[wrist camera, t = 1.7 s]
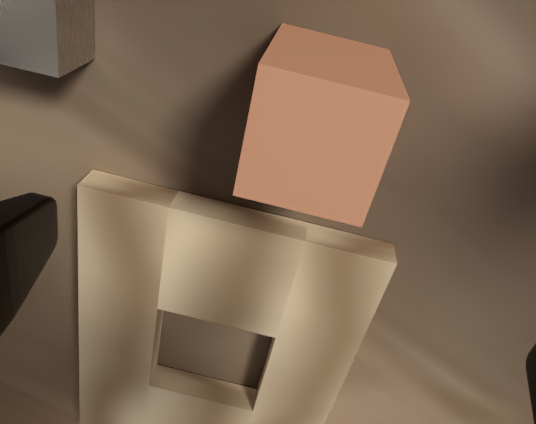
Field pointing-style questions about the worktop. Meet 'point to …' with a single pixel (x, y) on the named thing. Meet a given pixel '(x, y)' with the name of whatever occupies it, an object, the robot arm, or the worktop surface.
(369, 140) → the tall peg
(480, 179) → the worktop surface
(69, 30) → the short peg
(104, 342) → the hole board
